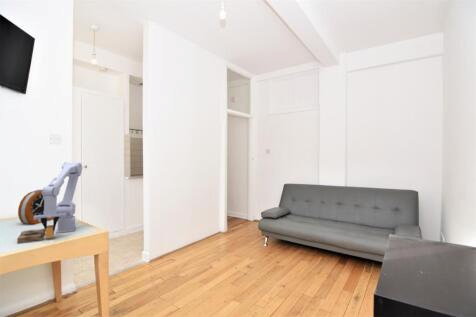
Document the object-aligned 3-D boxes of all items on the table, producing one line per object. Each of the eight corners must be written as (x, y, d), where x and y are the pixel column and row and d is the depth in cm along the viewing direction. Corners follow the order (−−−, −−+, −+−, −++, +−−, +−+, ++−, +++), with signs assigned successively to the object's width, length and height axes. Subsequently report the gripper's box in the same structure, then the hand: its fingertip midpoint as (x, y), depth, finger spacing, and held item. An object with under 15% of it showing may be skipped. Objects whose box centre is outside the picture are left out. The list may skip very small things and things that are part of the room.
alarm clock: (29, 226, 161) (30, 192, 161) (17, 225, 163) (17, 191, 163) (59, 218, 183) (59, 188, 183) (47, 217, 184) (48, 187, 184)
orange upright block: (53, 234, 143) (54, 224, 143) (52, 237, 137) (52, 227, 137) (47, 234, 142) (47, 225, 142) (45, 238, 136) (45, 228, 136)
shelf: (45, 233, 148) (45, 225, 148) (41, 240, 135) (41, 232, 135) (23, 235, 143) (23, 227, 142) (17, 243, 130) (17, 235, 130)
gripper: (32, 209, 132) (32, 234, 132) (65, 207, 140) (64, 230, 140) (35, 207, 138) (34, 230, 138) (66, 205, 146) (65, 227, 146)
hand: (50, 230), depth 139 cm, fingers closed on orange upright block, 3 cm apart
